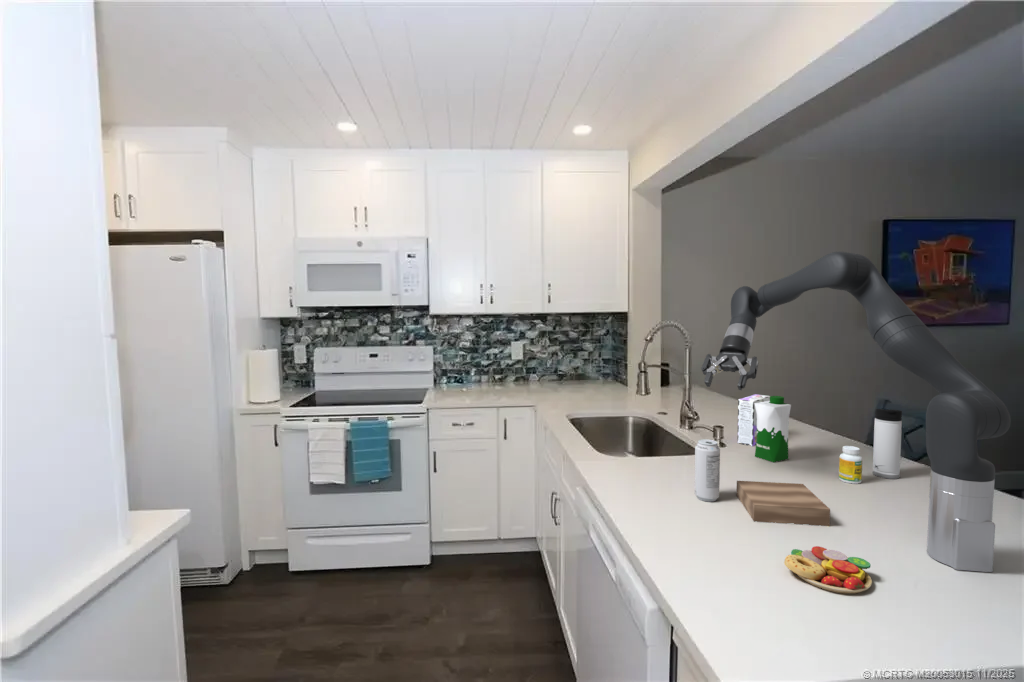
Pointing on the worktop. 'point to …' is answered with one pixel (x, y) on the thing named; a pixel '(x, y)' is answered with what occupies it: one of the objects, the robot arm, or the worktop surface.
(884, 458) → the travel mug
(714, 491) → the energy drink can
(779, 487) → the walnut base
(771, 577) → the worktop surface
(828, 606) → the worktop surface
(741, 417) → the candy box
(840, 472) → the supplement bottle
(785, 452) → the milk carton
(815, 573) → the toy food set
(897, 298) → the robot arm
